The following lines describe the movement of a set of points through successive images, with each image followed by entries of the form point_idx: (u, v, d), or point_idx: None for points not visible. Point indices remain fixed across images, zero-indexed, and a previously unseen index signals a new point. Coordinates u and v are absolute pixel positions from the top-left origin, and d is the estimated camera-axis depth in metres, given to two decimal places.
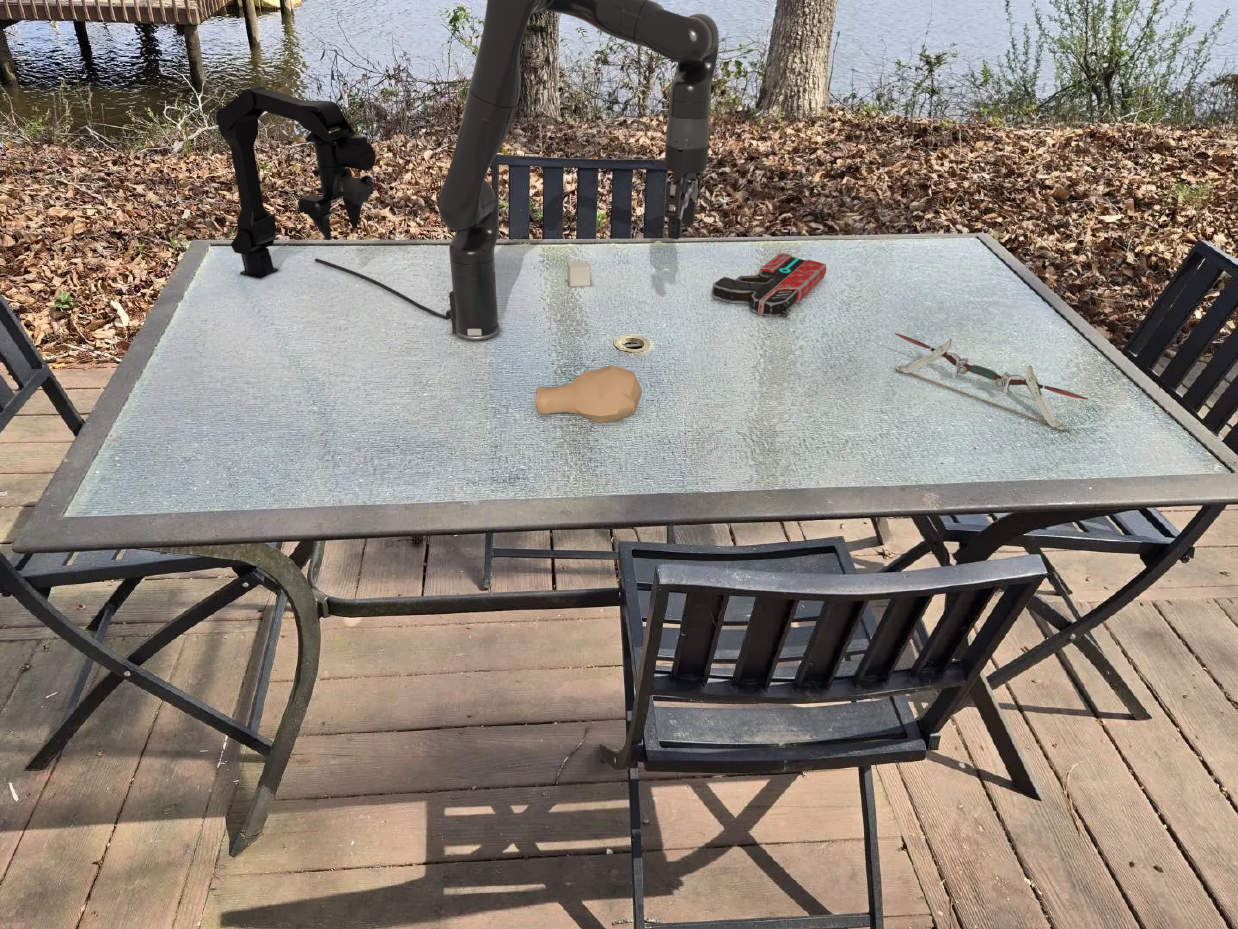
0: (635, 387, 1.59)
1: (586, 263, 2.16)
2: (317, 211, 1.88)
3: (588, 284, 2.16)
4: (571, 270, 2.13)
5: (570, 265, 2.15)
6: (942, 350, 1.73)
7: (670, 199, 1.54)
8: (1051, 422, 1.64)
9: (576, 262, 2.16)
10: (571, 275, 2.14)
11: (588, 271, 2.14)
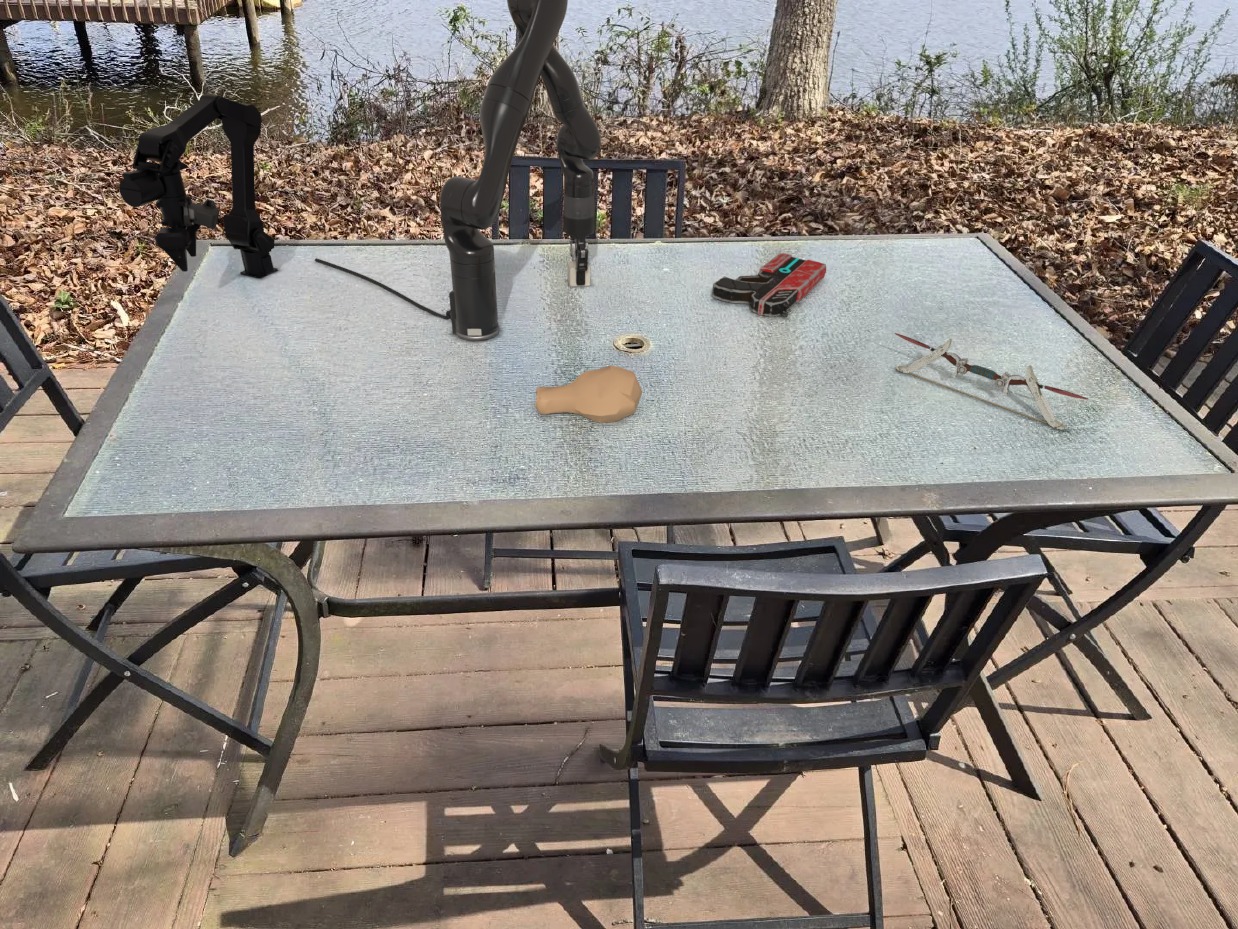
0: (635, 387, 1.59)
1: None
2: (183, 242, 1.85)
3: (588, 284, 2.16)
4: (571, 270, 2.13)
5: (570, 265, 2.15)
6: (942, 350, 1.73)
7: None
8: (1051, 422, 1.64)
9: None
10: (571, 275, 2.14)
11: (588, 271, 2.14)
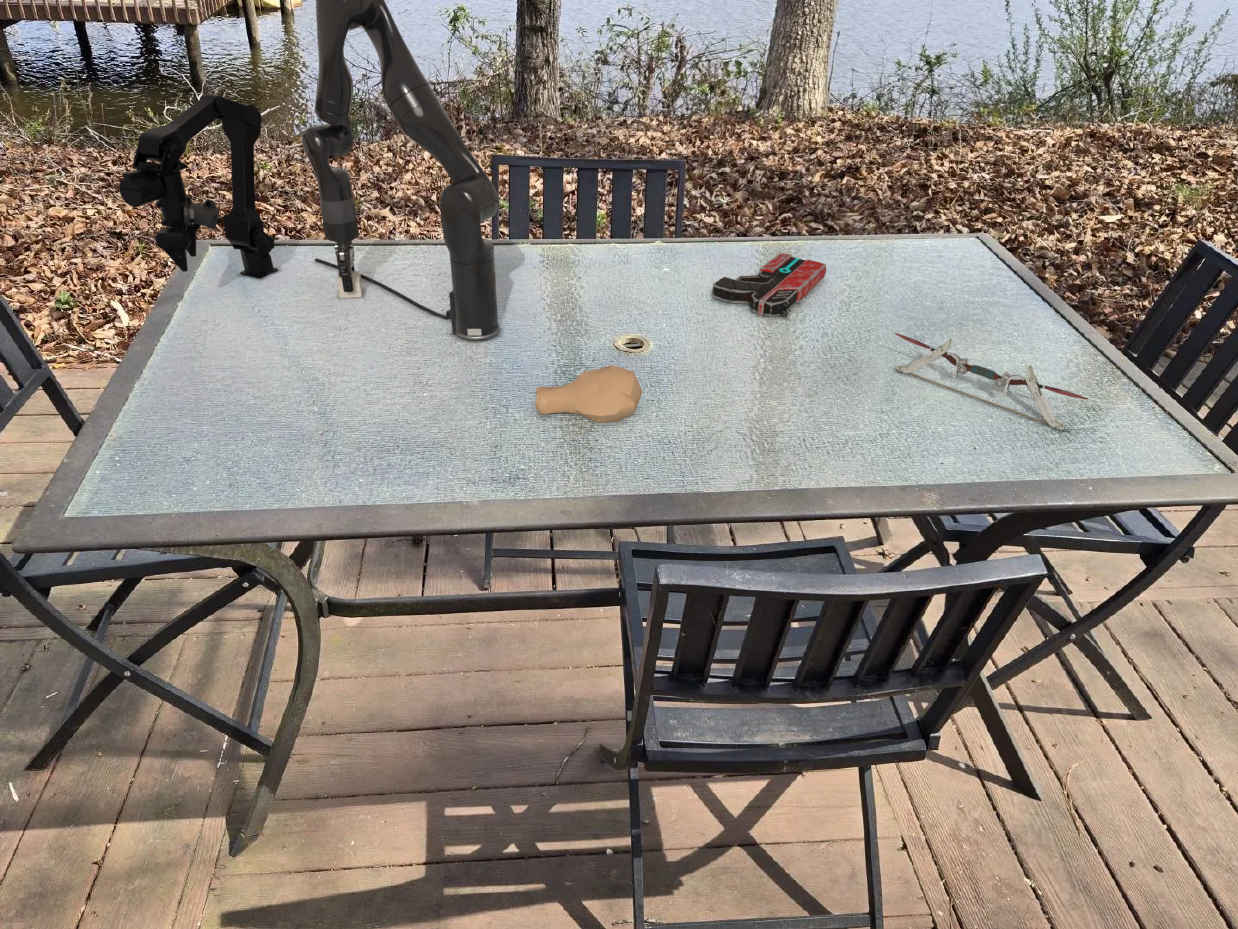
0: (635, 387, 1.59)
1: (357, 274, 2.07)
2: (183, 242, 1.85)
3: (359, 295, 2.07)
4: (338, 281, 2.04)
5: (338, 276, 2.05)
6: (942, 350, 1.73)
7: None
8: (1051, 422, 1.64)
9: None
10: (339, 286, 2.05)
11: (357, 282, 2.05)
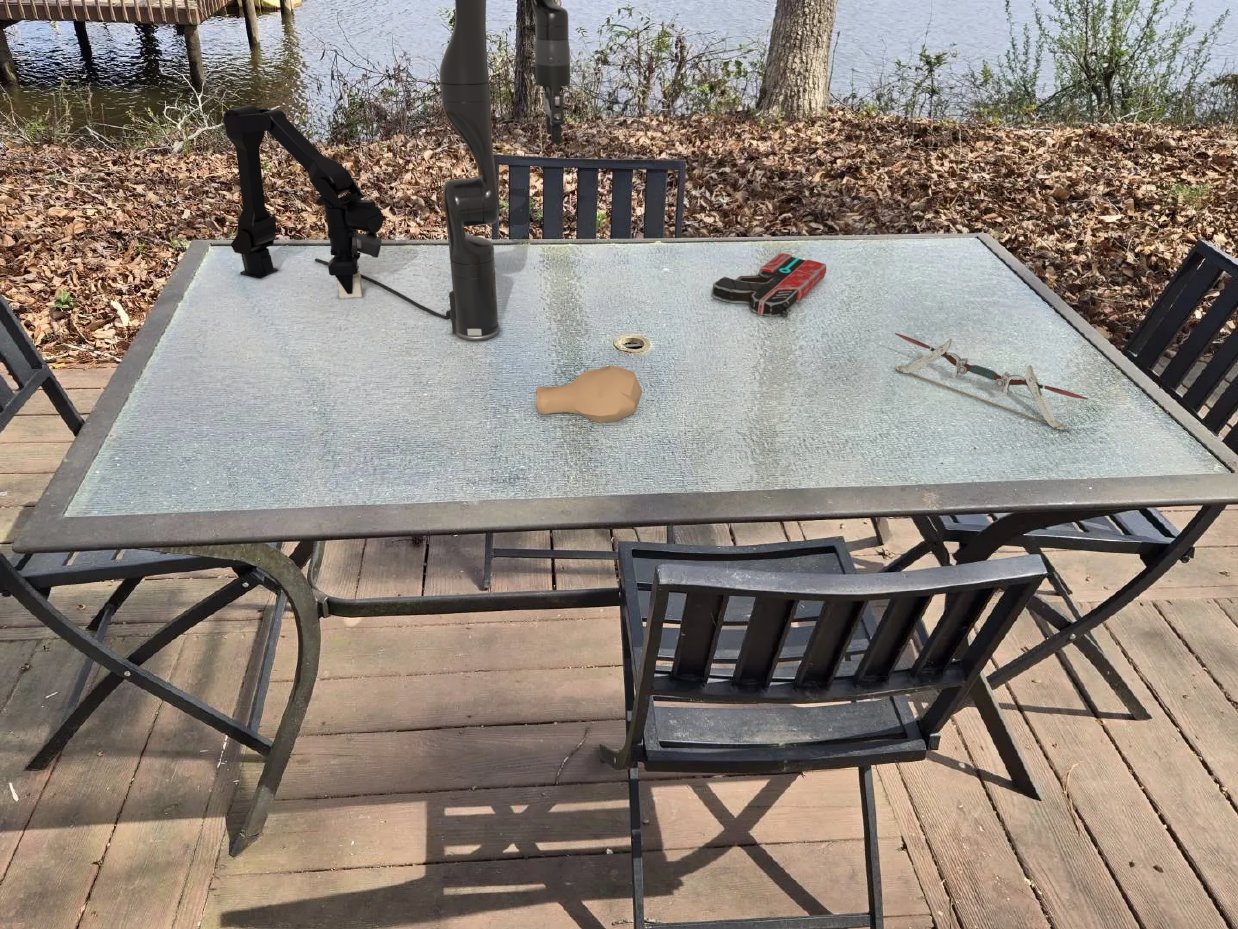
0: (635, 387, 1.59)
1: None
2: (354, 271, 1.97)
3: (359, 295, 2.07)
4: (338, 281, 2.04)
5: None
6: (942, 350, 1.73)
7: None
8: (1051, 422, 1.64)
9: None
10: (339, 286, 2.05)
11: (357, 282, 2.05)
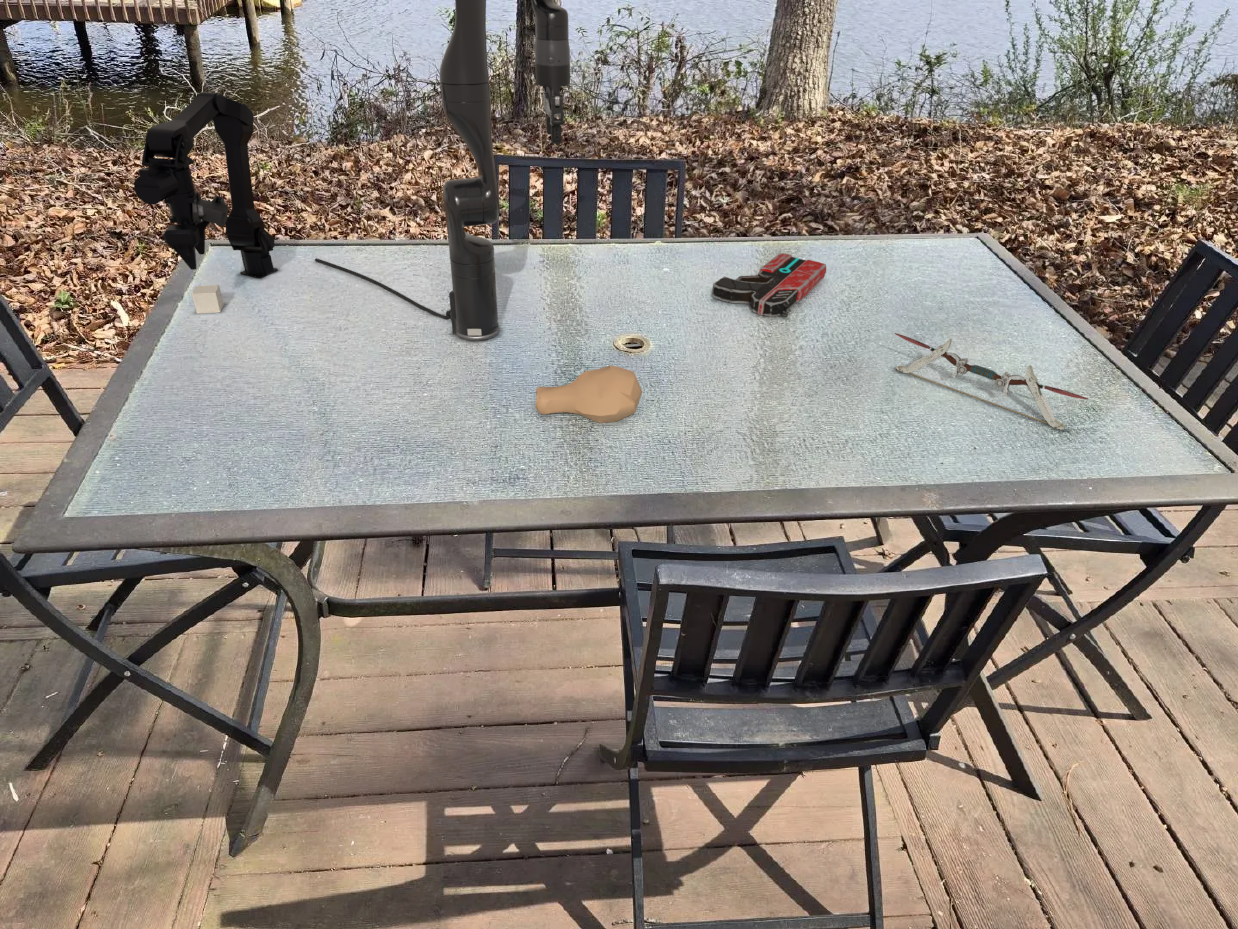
0: (635, 387, 1.59)
1: (215, 288, 1.98)
2: (192, 239, 1.82)
3: (217, 311, 1.98)
4: (193, 296, 1.95)
5: (194, 290, 1.96)
6: (942, 350, 1.73)
7: None
8: (1051, 422, 1.64)
9: (204, 287, 1.98)
10: (195, 301, 1.96)
11: (214, 297, 1.96)
